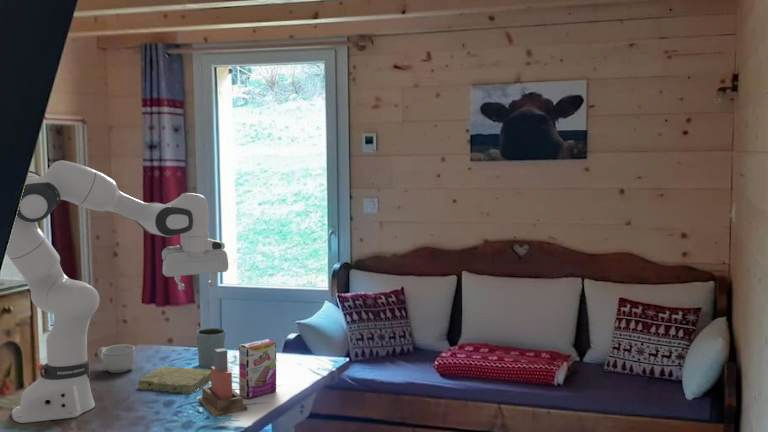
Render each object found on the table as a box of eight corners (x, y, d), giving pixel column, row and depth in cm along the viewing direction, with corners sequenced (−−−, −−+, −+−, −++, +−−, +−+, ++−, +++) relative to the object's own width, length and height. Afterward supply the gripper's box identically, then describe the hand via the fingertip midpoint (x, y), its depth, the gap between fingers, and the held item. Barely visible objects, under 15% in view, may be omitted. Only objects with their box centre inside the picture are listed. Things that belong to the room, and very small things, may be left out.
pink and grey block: (221, 407, 225) (219, 354, 223) (211, 398, 233) (210, 347, 231) (232, 405, 227) (231, 352, 225) (222, 397, 234) (221, 345, 233)
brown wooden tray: (214, 416, 220) (214, 402, 220) (198, 400, 234) (197, 388, 234) (247, 410, 225) (247, 396, 225) (229, 395, 239) (229, 382, 239)
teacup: (142, 369, 268) (141, 346, 267) (116, 377, 259) (115, 354, 258) (116, 363, 275) (115, 341, 275) (90, 370, 266) (89, 348, 265)
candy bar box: (248, 400, 235) (247, 347, 233) (238, 396, 238) (237, 344, 237) (277, 391, 242) (276, 340, 241) (268, 388, 246) (267, 338, 244)
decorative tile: (162, 374, 263) (161, 364, 263) (216, 378, 259) (216, 367, 258) (133, 391, 245) (133, 380, 244) (191, 395, 241) (191, 384, 240)
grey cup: (199, 360, 278) (198, 328, 277) (227, 359, 279) (226, 327, 278) (195, 368, 268) (194, 334, 267) (224, 367, 269) (224, 334, 268)
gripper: (164, 248, 231) (165, 293, 232) (229, 243, 241) (230, 286, 243) (159, 245, 237) (160, 289, 238) (223, 241, 247) (224, 283, 248)
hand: (196, 288), depth 240 cm, fingers open, 8 cm apart
